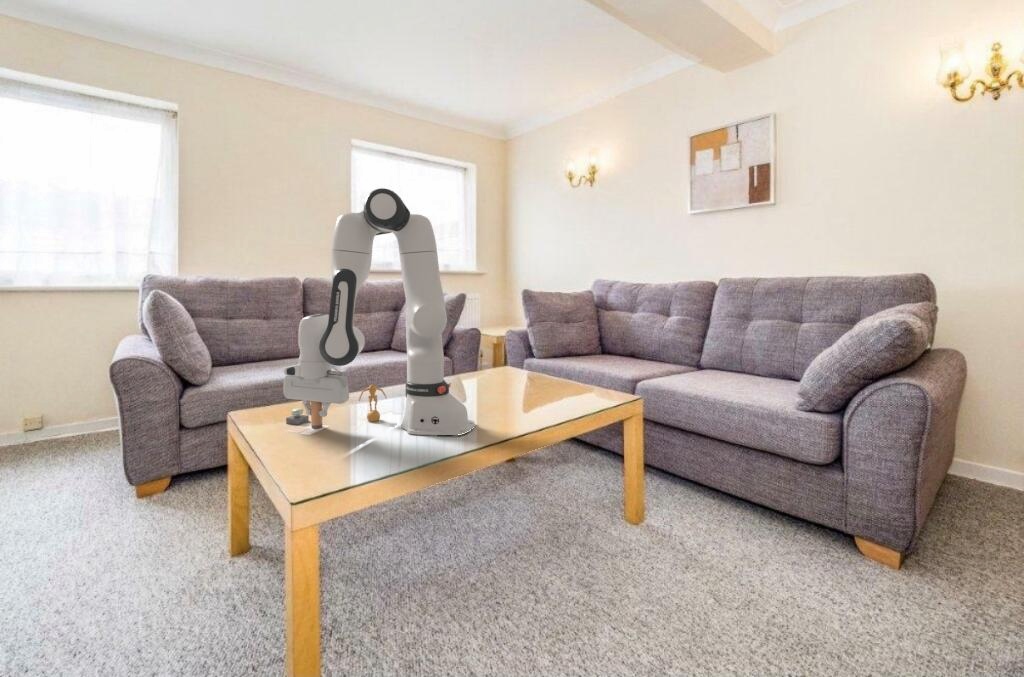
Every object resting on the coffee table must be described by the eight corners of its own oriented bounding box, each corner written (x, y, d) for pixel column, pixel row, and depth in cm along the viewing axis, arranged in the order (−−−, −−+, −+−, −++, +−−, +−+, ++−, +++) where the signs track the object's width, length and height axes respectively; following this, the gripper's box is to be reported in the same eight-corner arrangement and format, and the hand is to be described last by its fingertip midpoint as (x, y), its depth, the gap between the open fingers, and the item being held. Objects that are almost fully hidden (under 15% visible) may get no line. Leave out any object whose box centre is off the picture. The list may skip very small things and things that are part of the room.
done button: (305, 417, 143) (305, 408, 143) (298, 419, 140) (297, 411, 139) (296, 416, 144) (296, 407, 143) (289, 418, 141) (289, 410, 140)
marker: (324, 426, 138) (324, 396, 137) (318, 429, 136) (317, 399, 134) (316, 425, 139) (315, 396, 138) (309, 428, 136) (308, 398, 135)
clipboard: (335, 426, 141) (335, 418, 141) (308, 438, 129) (308, 430, 129) (296, 421, 145) (296, 414, 144) (267, 433, 133) (266, 425, 133)
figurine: (360, 425, 142) (359, 387, 141) (358, 420, 148) (358, 383, 146) (388, 423, 145) (387, 385, 144) (385, 418, 151) (385, 381, 149)
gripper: (353, 370, 136) (353, 416, 137) (294, 365, 141) (295, 409, 143) (339, 373, 130) (340, 422, 131) (278, 368, 135) (280, 414, 137)
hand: (316, 415), depth 137 cm, fingers closed on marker, 3 cm apart
